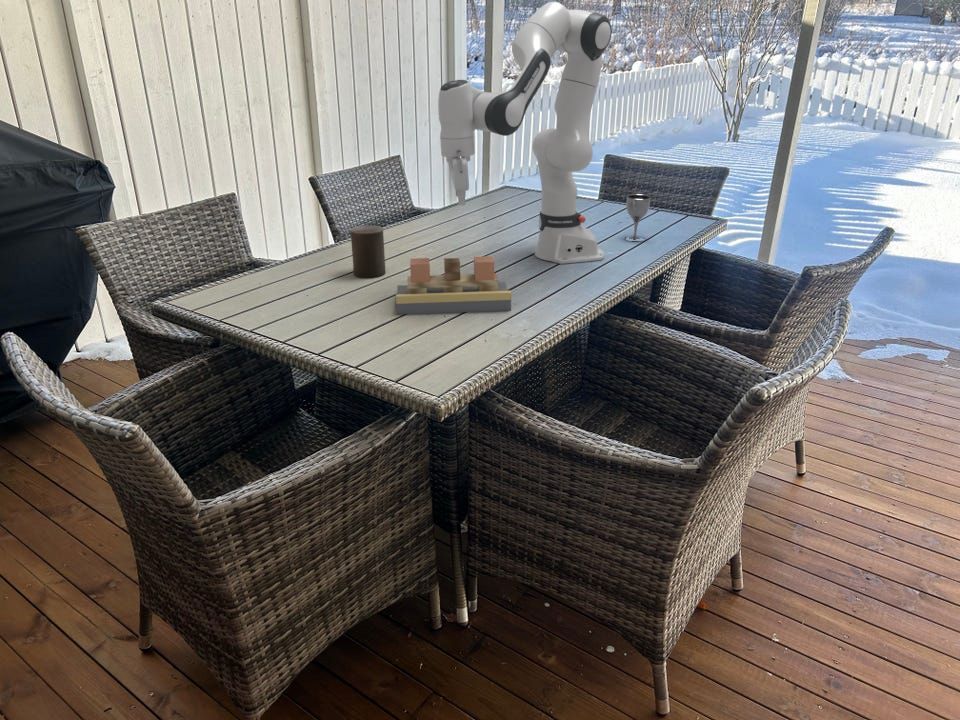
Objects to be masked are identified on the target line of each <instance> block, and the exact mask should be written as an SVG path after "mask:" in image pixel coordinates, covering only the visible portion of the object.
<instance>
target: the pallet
mask: <svg viewBox="0 0 960 720" xmlns="http://www.w3.org/2000/svg"><path fill="white" fill-rule="evenodd" d="M443 265H444V267H443V268H444V274H442V275H441V274H439V275H438V274H437V275H430V282H420V283H411V275H409V276H407V280H406V282H407V283H406V285H407V286H408V294H426V293H427V288H440V287H443V292H444V293H455V292H463V287H470V286H478V291H479V292H485V291H498V282H499V279H498V276H497V273H494V280H481V281H476V280H475V276H474V273H472V274H471V273H469V274H461V260H460V257H453V258H451V257H448V258H443Z"/></svg>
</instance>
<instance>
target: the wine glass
mask: <svg viewBox="0 0 960 720" xmlns="http://www.w3.org/2000/svg"><path fill="white" fill-rule="evenodd" d="M651 199H652V197H651V196H650V195H648V194H644V193H643V194H642V193H641V194H640V193H633V194H628V195H626V210H627V211H626V212H627V214H628V215H629V217H630V218H631V220H632V222H633V227H634V228H633V229H634V230H633V231H634V232H633V235H631V237H629V236H628V237H629V239H633V240H636V239H640V237H641V236H637V231H638V225H639V223H640V222H641V220H642V219H643V218H644V217H645V216H646V215H647V214H648V211H649V209H650V204H651Z"/></svg>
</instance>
